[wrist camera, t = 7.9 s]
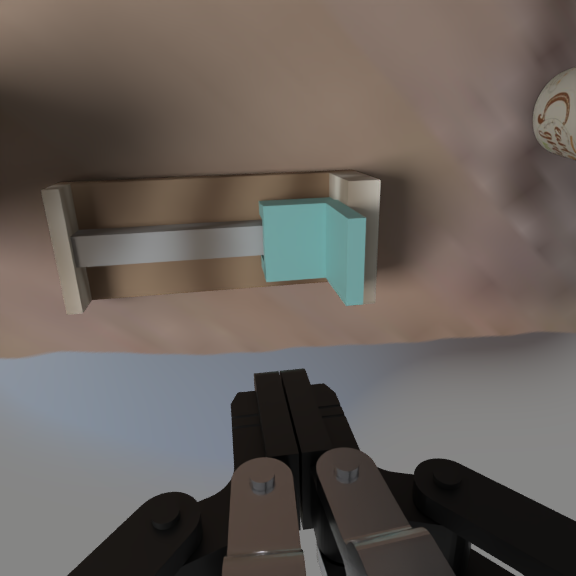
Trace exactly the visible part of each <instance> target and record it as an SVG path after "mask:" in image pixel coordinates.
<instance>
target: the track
mask: <svg viewBox="0 0 576 576" xmlns="http://www.w3.org/2000/svg"><path fill="white" fill-rule="evenodd" d="M380 185H381V180H380V179H377V178H374V177H371V176H369V175H366V174H363V173H360V172H357V171H354V170H335V171H312V172H288V173H265V174H242V175H218V176H195V177H172V178H148V179H125V180H102V181H78V182H59V183H57V184H54V185H52V186H49V187H47V188H44V189H42V190H41V194H42V199H43V204H44V208H45V213H46V218H47V223H48V227H49V232H50V237H51V242H52V246H53V251H54V256H55V261H56V265H57V270H58V275H59V280H60V284H61V289H62V294H63V299H64V303H65V308H66V313H67V315H69V314H81V313H84V311H85V310H86V308H87V307H88V305H89V304H90V302H91V301H92V300H98V299H111V298H124V297H137V296H149V295H162V294H175V293H188V292H201V291H214V290H227V289H240V288H253V287H266V286H279V285H292V284H305V283H318V282H328V280H327V279H326V278H315V279H302V280H289V281H276V282H266V279H265V275H264V272H263V269H262V263H261V255H264V248H263V226H262V218H261V217H260V215H259V201H267V200H286V199H306V198H325V197H330V198H332V199H333V200H339V201H340V202H342V203H343V204H345V205H347V206H348V207H350V208H351V209H353V210H355V211H356V212H358V213H359V214H361V215H362V216H364V217H366V235H365V264H364V292H363V304H371V303H375V296H376V274H377V252H378V230H379V207H380ZM330 285H331V284H330ZM333 289H334V288H333ZM338 296H339V295H338ZM341 300H342V299H341ZM344 304H345V303H344Z"/></svg>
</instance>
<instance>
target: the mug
mask: <svg viewBox="0 0 576 576" xmlns="http://www.w3.org/2000/svg"><path fill="white" fill-rule="evenodd" d="M533 129H534V133H535V136H536V138H537V140H538V142H539V143H540V145H541V146H542V147H543V148H545V149H546V150H547V151H549V152H551V153H554V154H557V155H560V156H563V157H566V158H570V159H573V160H576V67H574V68H571V69H568V70H566V71H564V72H562V73H560V74H558V75H557V76H556V77H554V78H553V79H552V80H551V81H550V82H549V83H548V84H547V85H546V86H545V87H544V89H543V90H542V92H541V93H540V95H539V97H538V99H537V102H536V105H535V108H534V113H533Z"/></svg>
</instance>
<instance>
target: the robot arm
mask: <svg viewBox="0 0 576 576" xmlns="http://www.w3.org/2000/svg"><path fill="white" fill-rule="evenodd" d="M254 386H255V391H248V392H239V393H237V395H236V396H235V398H234V400H233V401H232V403H231V416H232V433H233V434H232V435H233V454H234V473H233V476H232V479H231V480H230V482H229V483H228V484H227V486H226V487H225V488H224V489H222V490H221V491H220V492H218V493H217V494H215V495H213V496H211V497H209V498H206V499H204V500H201V501H199V502H197V501H196V500H195V499H194V498H193V497H191V496H190V495H188V494H185V493H181V492H168V493H164V494H160V495H158V496H155V497H153V498H151V499H150V500H148V501H147V502H145V503H144V504H143V505H142V506H141V507H139V509H137V510H136V511H135V512H134V513H133V514H132V515H131V516H130V517H129V518H128V519H127V520H126V521H125V522H124V523H123V524H122V525H120V526H119V527H118V528H117V529H116V530H115V531H114V532H113V533H112V534H111V535H110V536H109V537H108V538H107V539H106V540H104V541H103V542H102V543H101V544H100V545H99V546H98V547H97V548H96V549H95V550H94V551H93V552H92V553H91V554H90V555H89V556H87V557H86V558H85V559H84V560H83V561H82V562H81V563H80V564H79V565H78V566H77V567H76V568H75V569H74V570H73V571H72V572H71V573H69V574H68V576H306V570H305V561H304V554H303V550H302V549H301V545H300V536H299V530H300V517H301V522H302V527H303V530H304V529H311V528H314V531H315V536H316V540H317V560H318V564H319V567H320V570H321V573H322V576H515V575H514V574H512V573H510V572H509V571H507V570H505V569H504V568H502V567H500V566H499V565H497V564H496V563H494V562H492V561H490V560H489V559H487V558H485V557H484V556H482V555H481V554H479V553H478V552H476V551H474V550H473V549H471V543H472V544H474V545H476V546H477V547H479V548H480V549H482V550H484V551H485V552H487V553H489V554H490V555H492V556H494V557H495V558H497V559H499V560H500V561H502V562H504V563H505V564H507V565H509V566H510V567H512V568H514V569H515V570H517V571H519V572H520V573H522V574H523V575H524V576H576V521H574V520H572V519H570V518H568V517H566V516H564V515H562V514H560V513H558V512H555V511H554V510H552V509H550V508H548V507H546V506H544V505H542V504H540V503H538V502H536V501H534V500H532V499H530V498H528V497H526V496H524V495H522V494H520V493H518V492H515V491H513V490H512V489H510V488H508V487H506V486H504V485H501V484H499V483H497V482H495V481H493V480H491V479H489V478H487V477H485V476H483V475H481V474H479V473H477V472H475V471H473V470H471V469H469V468H467V467H465V466H463V465H461V464H459V463H457V462H454V461H451V460H447V459H429V460H426V461H424V462H422V463H420V464H419V465H418V466H417V467H416V469H415V471H414V475H412V474H404V473H396V472H390V471H386V470H383V469H380V468H378V467H377V466H376V465H375V463H374V461H373V460H372V459H371V458H370V457H369V456H368V455H366V454H365V453H363V452H362V451H360V449H359V447H358V445H357V442H356V440H355V438H354V435H353V433H352V431H351V428H350V426H349V424H348V422H347V419H346V417H345V416H344V412H343V410H342V407H340V403H339V400H338V398H337V396H336V393H335V392H334V391H333V390H331V389H330V388H329V387H328V386H326V385H325V384H314V385H310V382H309V379H308V376H307V373H306V371H305V369H295V370H284V371H280V375H279V372H278V371H276V372H267V373H266V372H265V373H255V374H254Z"/></svg>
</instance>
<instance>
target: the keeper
mask: <svg viewBox="0 0 576 576" xmlns="http://www.w3.org/2000/svg"><path fill="white" fill-rule="evenodd" d="M259 215H260V217H261V218H262V226H263V248H264V255H261V263H262V269H263V272H264V275H265V279H266V282H276V281H289V280H302V279H315V278H326V279H327V280H328V282H329V283H330V284H331V286H332V287H333V288H334V290H335V291H336V293H337V294H338V295H339V297H340V298H341V299H342V301H343V302H344V303H345V305H346V306H349V305H361V304H363V292H364V264H365V235H366V217H364V216H362V215H361V214H359V213H358V212H356V211H355V210H353V209H351V208H350V207H348V206H347V205H345V204H343V203H342V202H340V201H339V200H333V199H332V198H330V197H325V198H306V199H286V200H267V201H259Z"/></svg>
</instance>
